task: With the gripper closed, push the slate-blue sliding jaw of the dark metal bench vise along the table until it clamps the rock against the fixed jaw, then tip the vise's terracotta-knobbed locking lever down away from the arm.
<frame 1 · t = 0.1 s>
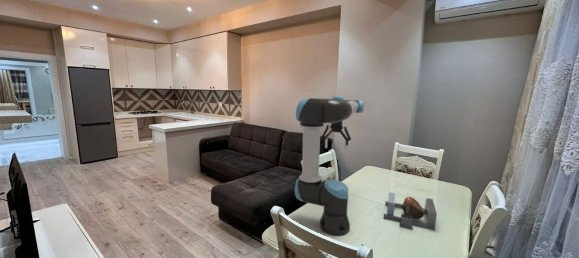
hand: (335, 148, 164), 28 cm above the table, fingers open, 13 cm apart
lever: (407, 208, 119), point 10 cm above the table, hinge at 0.0°
vise frame: (407, 216, 130), on the table
rock: (410, 217, 130), on the table
vise jaw: (391, 204, 133), point 5 cm above the table, slide at 0.0 cm
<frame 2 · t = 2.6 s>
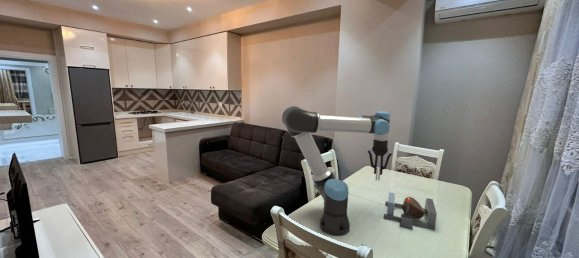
hand: (377, 179, 134), 18 cm above the table, fingers closed
nothing on the table moved.
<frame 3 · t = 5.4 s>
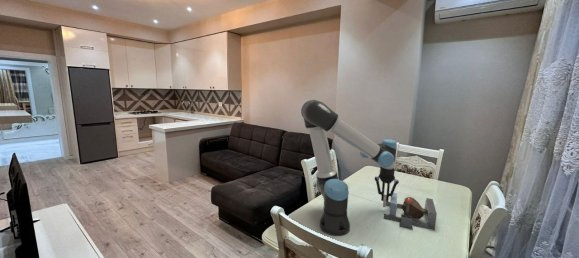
hand: (384, 206, 135), 3 cm above the table, fingers closed
vise jaw: (393, 205, 133), point 5 cm above the table, slide at 1.2 cm, touching gripper
everything else where it was.
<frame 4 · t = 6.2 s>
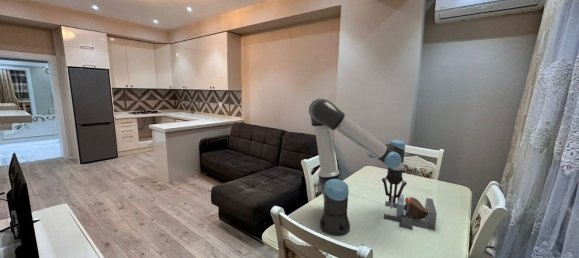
hand: (391, 207, 134), 3 cm above the table, fingers closed
rock: (412, 217, 129), on the table, touching vise frame, vise jaw
vise jaw: (400, 206, 131), point 5 cm above the table, slide at 4.8 cm, touching gripper, rock
everything else where it was.
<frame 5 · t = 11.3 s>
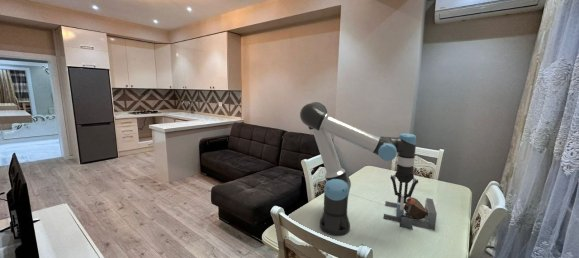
hand: (401, 208, 121), 9 cm above the table, fingers closed
lever: (409, 209, 119), point 10 cm above the table, hinge at 7.2°, touching gripper
rock: (412, 217, 129), on the table, touching vise frame
vise jaw: (400, 206, 131), point 5 cm above the table, slide at 4.8 cm
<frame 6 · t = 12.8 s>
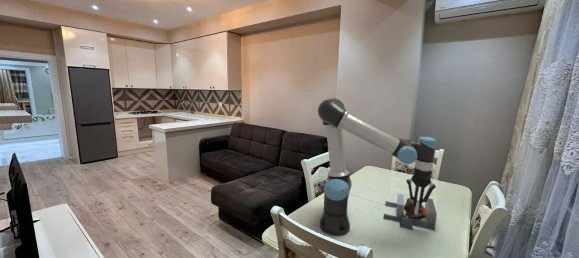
hand: (415, 213, 118), 8 cm above the table, fingers closed
lever: (416, 215, 118), point 7 cm above the table, hinge at 59.2°, touching gripper
rock: (412, 217, 129), on the table
everything else where it was.
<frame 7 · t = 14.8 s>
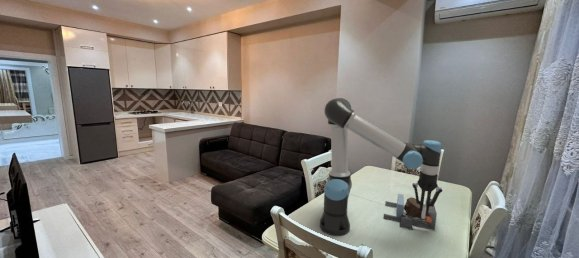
hand: (422, 217, 117), 7 cm above the table, fingers closed
lever: (417, 219, 118), point 5 cm above the table, hinge at 81.0°, touching gripper
everything else where it was.
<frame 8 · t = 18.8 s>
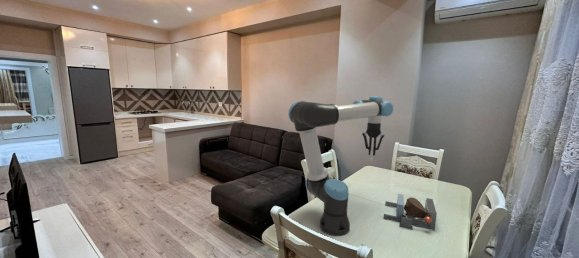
hand: (371, 160, 144), 26 cm above the table, fingers closed
lever: (417, 219, 118), point 5 cm above the table, hinge at 81.0°
everything else where it was.
at the end: vise jaw slide at 4.8 cm; rock inside the target area (2.5 cm from its centre), on the table; lever at +81° (first picture: +0°) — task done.
